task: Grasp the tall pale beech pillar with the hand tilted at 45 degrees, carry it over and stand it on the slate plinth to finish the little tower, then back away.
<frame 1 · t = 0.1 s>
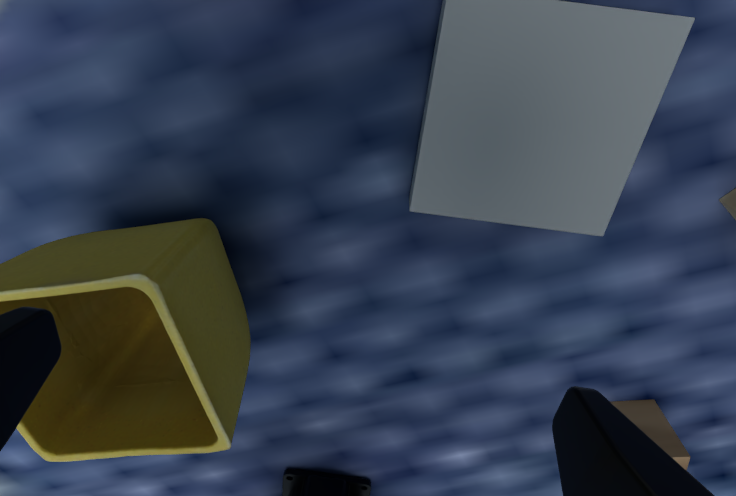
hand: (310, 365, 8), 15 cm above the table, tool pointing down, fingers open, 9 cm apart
slate plinth: (525, 118, 19), on the table
walnut cube: (615, 422, 28), on the table
flower pot: (189, 261, 25), on the table
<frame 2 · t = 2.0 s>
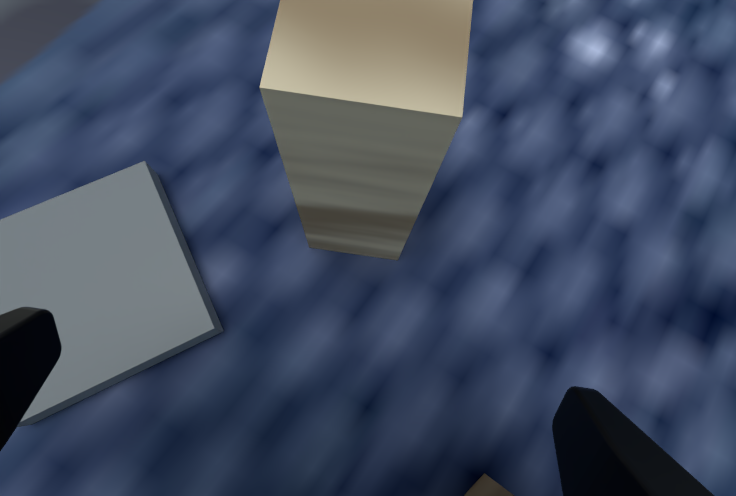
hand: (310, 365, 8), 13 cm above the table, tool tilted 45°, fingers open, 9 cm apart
beech pillar: (359, 212, 23), on the table
slate plinth: (99, 289, 21), on the table
when the fingers open (9 cm above the table, at t = 8.0 s): beech pillar stays where it is, resting on slate plinth.
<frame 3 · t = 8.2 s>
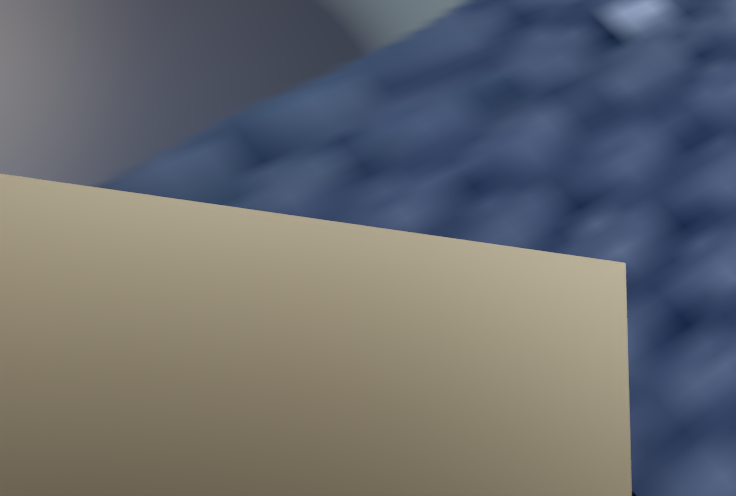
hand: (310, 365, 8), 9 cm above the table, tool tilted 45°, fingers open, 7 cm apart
beech pillar: (321, 411, 15), point 1 cm above the table, touching slate plinth
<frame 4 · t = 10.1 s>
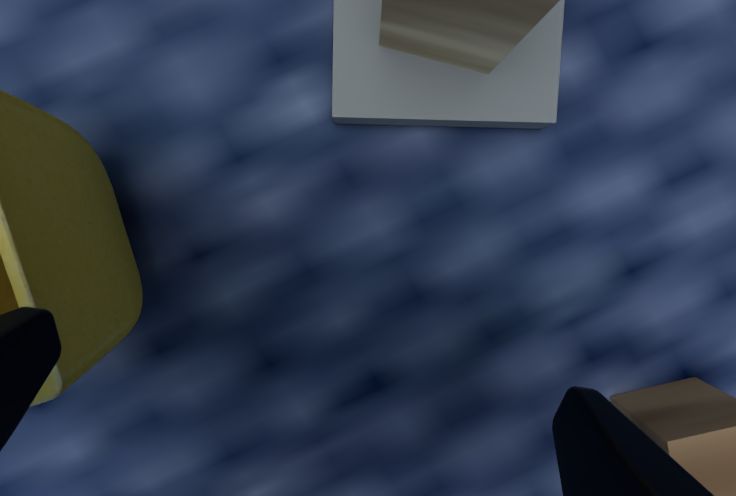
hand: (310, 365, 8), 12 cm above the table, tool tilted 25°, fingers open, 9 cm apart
beech pillar: (448, 1, 17), point 1 cm above the table, touching slate plinth
slate plinth: (442, 17, 19), on the table
walnut cube: (658, 425, 21), on the table
flower pot: (78, 242, 20), on the table
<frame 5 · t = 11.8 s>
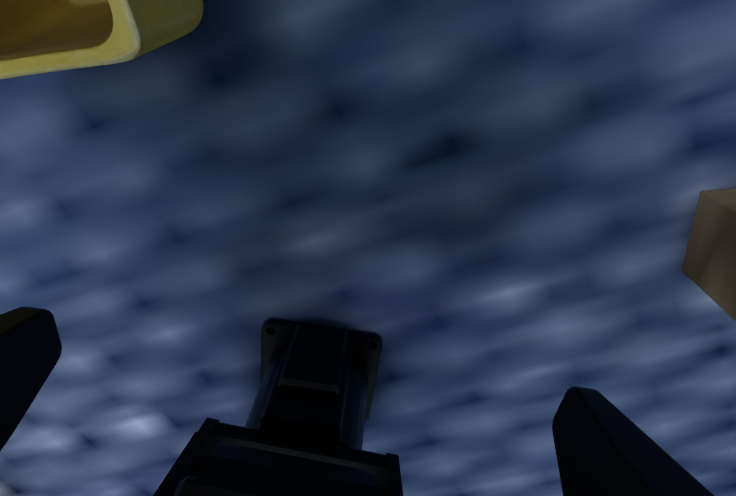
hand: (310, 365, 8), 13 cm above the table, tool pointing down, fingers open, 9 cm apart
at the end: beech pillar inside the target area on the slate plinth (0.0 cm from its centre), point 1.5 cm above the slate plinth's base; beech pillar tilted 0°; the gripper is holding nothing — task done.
